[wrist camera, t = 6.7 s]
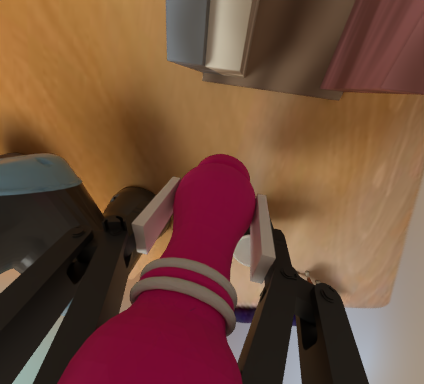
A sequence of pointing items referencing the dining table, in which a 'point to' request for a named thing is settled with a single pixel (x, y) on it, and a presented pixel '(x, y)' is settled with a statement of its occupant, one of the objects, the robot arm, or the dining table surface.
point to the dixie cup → (244, 248)
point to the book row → (301, 44)
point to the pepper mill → (180, 293)
